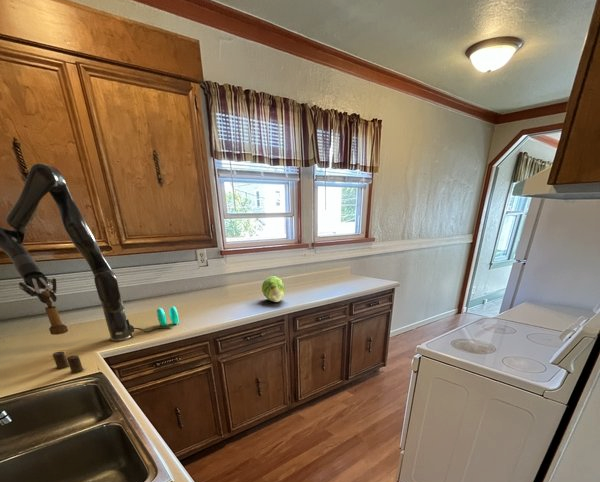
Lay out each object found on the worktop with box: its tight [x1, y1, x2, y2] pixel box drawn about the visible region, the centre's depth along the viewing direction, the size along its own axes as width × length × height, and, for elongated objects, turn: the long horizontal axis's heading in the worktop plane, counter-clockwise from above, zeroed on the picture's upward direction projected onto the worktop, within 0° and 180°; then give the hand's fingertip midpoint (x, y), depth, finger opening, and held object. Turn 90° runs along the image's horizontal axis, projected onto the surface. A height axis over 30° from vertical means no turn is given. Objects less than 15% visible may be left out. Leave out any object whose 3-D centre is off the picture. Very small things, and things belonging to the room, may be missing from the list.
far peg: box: [66, 354, 84, 374], centre depth 129 cm, size 4×4×6 cm
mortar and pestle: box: [40, 290, 69, 336], centre depth 139 cm, size 7×6×18 cm
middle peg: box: [52, 351, 70, 370], centre depth 133 cm, size 4×4×6 cm
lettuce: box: [261, 275, 286, 303], centre depth 236 cm, size 17×23×16 cm
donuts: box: [156, 306, 180, 327], centre depth 185 cm, size 10×10×10 cm
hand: (50, 301), depth 136 cm, fingers closed on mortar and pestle, 3 cm apart
